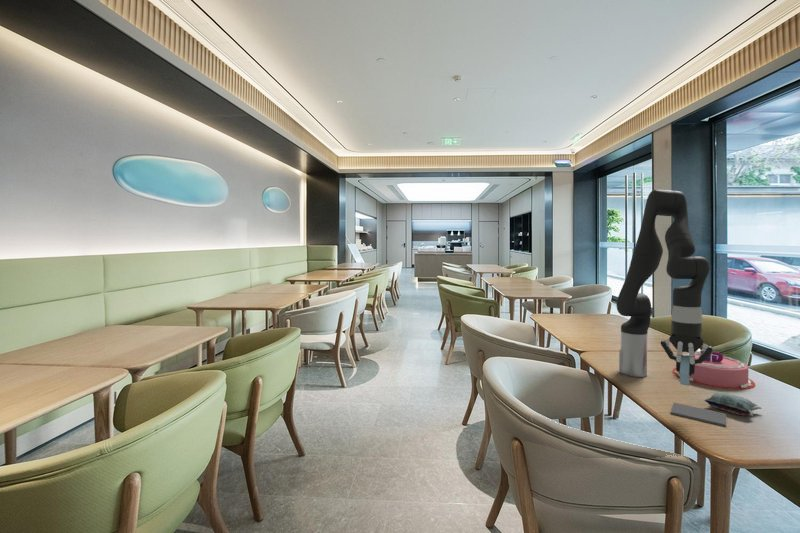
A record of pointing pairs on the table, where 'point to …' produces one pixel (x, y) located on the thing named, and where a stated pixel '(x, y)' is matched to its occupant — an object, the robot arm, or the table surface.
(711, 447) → the table surface
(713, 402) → the packaged food
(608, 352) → the table surface
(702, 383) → the cake
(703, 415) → the mat
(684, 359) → the block
